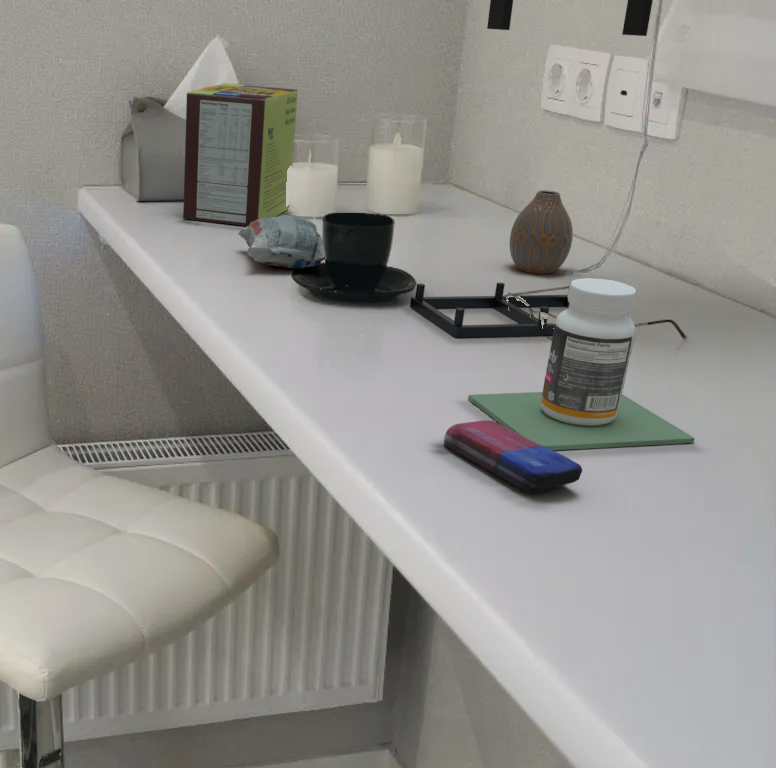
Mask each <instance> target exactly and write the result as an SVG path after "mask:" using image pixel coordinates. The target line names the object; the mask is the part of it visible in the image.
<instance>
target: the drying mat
mask: <svg viewBox="0 0 776 768" xmlns="http://www.w3.org/2000/svg"><path fill="white" fill-rule="evenodd" d="M542 393H543V391H533V392H532V391H530V392H528V391H527V392H512V393H511V392H508V393H507V392H506V393H482V394H481V393H479V394H468V395H467V396H468V397H467V400H468V401H470V402H471V403H472V404H473V405H475V406H476V407H478V409H480V410H481V411H482V412H483V413H485V414H486V415H487V416H488V417H490V418H492V419H493V421H495V422H497V423H499V424H501V425H503V426H505V427H507V428H509V429H510V430H512V431H514V432H516V433H518V434H520V435H522V436H524V437H526V438H528V439H530V440H532V441H534V442H536V443H538V444H540V445H542V446H544V447H547V448H549V449H551V450H553V451H570V450H588V449H606V448H623V447H625V448H626V447H642V446H643V447H645V446H657V445H658V446H661V445H663V446H664V445H678V444H680V445H682V444H694V443H695V439H696V438H695V437H694V436H692V435H691V434H689V433H687V432H685V431H684V430H682V429H680V428H679V427H677V426H675V425H674V424H672V423H670V422H669V421H667V420H665V419H664V418H662V417H660V415H658V414H656V413H654V412H652V411H651V410H649V409H647V408H646V407H644V406H642V405H641V404H639V403H638V402H636V401H634V400H633V399H631V398H629V397H627V396H626V395H624V394H622V396H621V401H620V404H619V409H618V412H617V416H616V418H615V419H614V420H613V421H611V422H610V423H607V424H603V425H597V426H582V425H574V424H569V423H565V422H561V421H559V420H556V419H554V418H552V417H550V416H548V415H547V414H546V413H545V412H544V411H543V410H542V408H541V399H542Z"/></svg>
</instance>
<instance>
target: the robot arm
mask: <svg viewBox="0 0 776 768" xmlns="http://www.w3.org/2000/svg"><path fill="white" fill-rule="evenodd" d="M653 1H654V0H627V3H626V9H625V14H624V15H625V16H624V20H623V21H624V22H623V26H622V34H621V35H623V36H636V37H637V36H639V37H647V35H648V29H649V24H650V18H651V12H652V8H653V7H652V6H653ZM513 5H514V0H490V2H489V9H488V17H487V18H488V20H487V27H486V29H487V30H498V31H510V28H511V21H512V13H513Z"/></svg>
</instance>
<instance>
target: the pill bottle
mask: <svg viewBox="0 0 776 768" xmlns="http://www.w3.org/2000/svg"><path fill="white" fill-rule="evenodd" d="M570 282H571V283H570ZM570 282H569V285H570V287H569V286H568V291H567V295H568V302H569V303H570V304H569V307H567V308H566V309H564V310H562V311H561V312H560V313H559V314H558V315H557V317H556V319H555V322H554V323H555V324H554V332H553V335H552V337H551V343H550V349H549V355H548V360H547V364H546V371H545V375H544V381H543V387H542V392H543V393H542V399H541V408H542V410H543V411H544V412H545V413H546V414H547V415H548V416H550V417H552V418H554V419H556V420H559V421H561V422H565V423H569V424H574V425H582V426H597V425H603V424H607V423H610V422H611V421H613V420H614V419H615V418H616V416H617V412H618V409H619V404H620V401H621V396H622V395H623V391H624V389H625V388H624V387H625V382H626V378H627V372H628V368H629V362H630V357H631V354H632V351H633V345H634V340H635V335H636V326H635V323H634V321H633V320H632V318H631V317H630V316H629V312H630V311H631V310H632V308H634V306H635V302H636V297H637V289H636V288H635V287H634V286H632V285H629V284H627V283H624V282H621V281H618V280H617V281H616V280H612V279H606V278H605V279H604V278H595V277H592V278H591V277H590V278H589V277H585V278H576V279H574V280H571V281H570Z"/></svg>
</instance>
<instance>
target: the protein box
mask: <svg viewBox="0 0 776 768" xmlns="http://www.w3.org/2000/svg"><path fill="white" fill-rule="evenodd" d="M185 107H186V110H185V141H184V142H185V143H184V145H185V146H184V173H183V175H184V176H183V210H182V211H183V213H182V219H184V220H191V221H199V222H209V223H218V224H227V225H236V226H243V227H244V226H245V227H247V226H249V225H250V223H251V222H254V221H255V220H259V219H263V218H270V217H278V216H279V215H281V214H282V213H284V212H286V211H288V210H289V209H290V204H289V205H288V206H287V207H286V182H287V170H288V168H289V166H291V165H292V166H293V162H294V152H295V151H294V150H295V137H296V136H295V135H296V121H297V107H298V89H297V88H296V89H295V88H285V87H284V88H283V87H272V86H260V85H259V86H258V85H248V84H237V83H227V82H226V83H220V84H216V85H212V86H205V87H203V88H198V89H194V90H190V91H188V92H186V105H185ZM293 140H294V141H293ZM293 142H294V143H293Z"/></svg>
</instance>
